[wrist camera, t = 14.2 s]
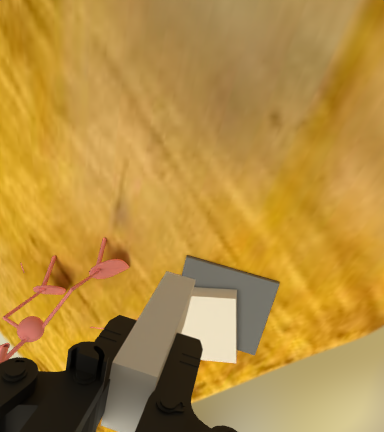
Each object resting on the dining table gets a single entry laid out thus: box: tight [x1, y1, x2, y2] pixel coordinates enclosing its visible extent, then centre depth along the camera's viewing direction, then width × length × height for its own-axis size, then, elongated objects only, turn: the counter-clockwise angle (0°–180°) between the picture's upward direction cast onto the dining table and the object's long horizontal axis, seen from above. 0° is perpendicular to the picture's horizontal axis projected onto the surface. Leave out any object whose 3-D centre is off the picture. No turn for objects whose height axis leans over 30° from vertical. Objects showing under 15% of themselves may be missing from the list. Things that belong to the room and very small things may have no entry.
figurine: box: [0, 238, 137, 363], centre depth 36 cm, size 15×26×35 cm, turn 112°
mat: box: [182, 255, 279, 355], centre depth 49 cm, size 12×13×1 cm
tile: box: [181, 287, 237, 363], centre depth 48 cm, size 10×3×10 cm
